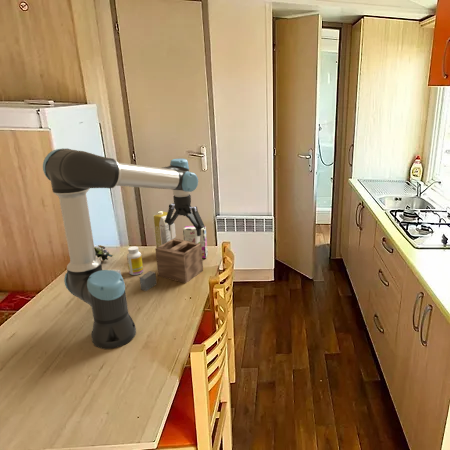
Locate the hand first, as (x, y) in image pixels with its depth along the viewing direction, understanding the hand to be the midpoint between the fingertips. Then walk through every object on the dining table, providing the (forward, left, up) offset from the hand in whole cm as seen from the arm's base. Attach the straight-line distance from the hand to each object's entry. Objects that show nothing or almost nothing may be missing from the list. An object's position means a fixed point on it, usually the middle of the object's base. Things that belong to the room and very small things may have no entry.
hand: (185, 240), depth 168 cm
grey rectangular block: (-17, +9, -18) cm, 26 cm away
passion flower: (-10, +49, -18) cm, 53 cm away
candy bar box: (+19, +8, -18) cm, 27 cm away
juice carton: (+14, +24, -18) cm, 33 cm away
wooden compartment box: (0, +4, -18) cm, 18 cm away
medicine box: (-26, +22, -18) cm, 39 cm away
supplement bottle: (-9, +24, -18) cm, 31 cm away
